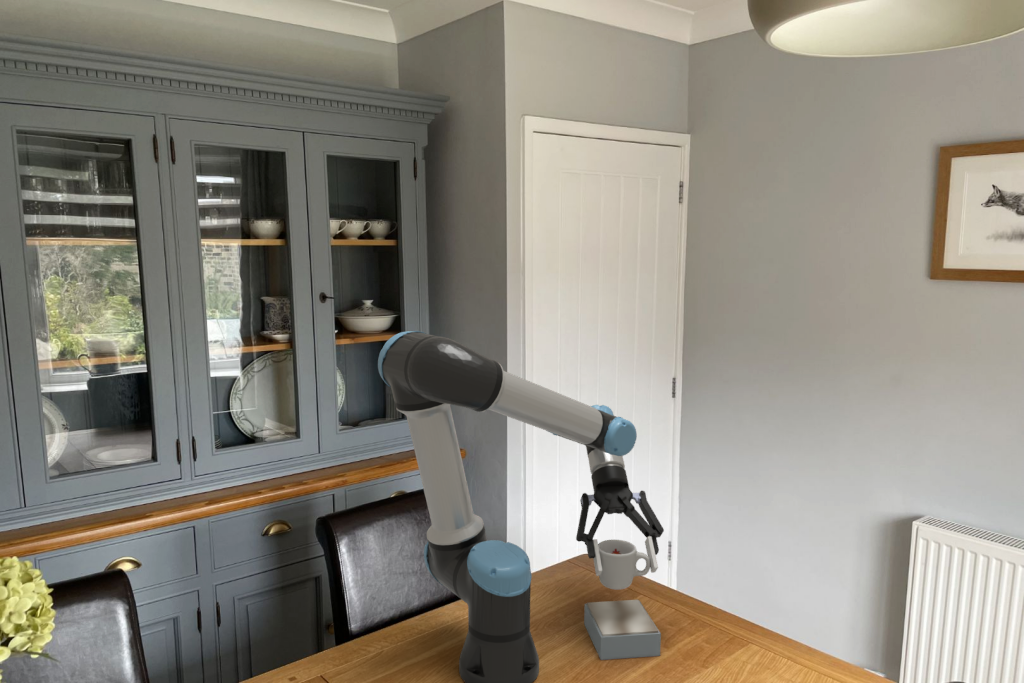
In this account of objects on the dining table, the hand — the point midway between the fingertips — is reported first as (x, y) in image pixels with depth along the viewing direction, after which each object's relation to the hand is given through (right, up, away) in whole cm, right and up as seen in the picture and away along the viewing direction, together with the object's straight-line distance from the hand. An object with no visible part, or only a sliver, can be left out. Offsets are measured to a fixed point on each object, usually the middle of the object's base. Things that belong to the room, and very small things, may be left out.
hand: (627, 571), depth 148 cm
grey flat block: (-1, -15, +5) cm, 16 cm away
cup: (0, -4, +3) cm, 5 cm away
